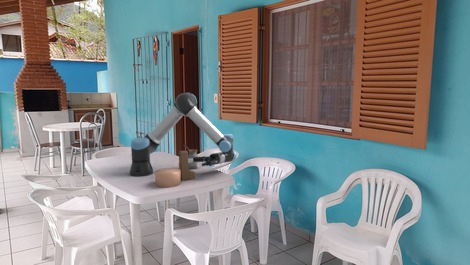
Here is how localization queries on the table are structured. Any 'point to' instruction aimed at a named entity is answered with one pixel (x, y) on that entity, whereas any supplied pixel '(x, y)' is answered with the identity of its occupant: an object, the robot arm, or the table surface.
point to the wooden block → (185, 166)
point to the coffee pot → (192, 154)
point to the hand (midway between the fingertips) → (190, 163)
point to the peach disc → (168, 177)
